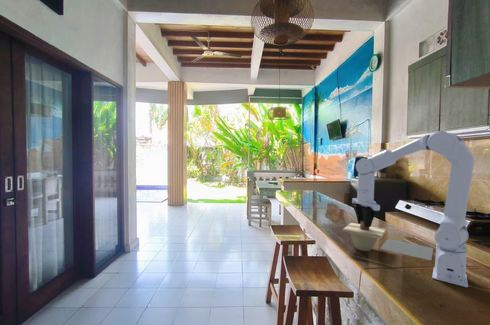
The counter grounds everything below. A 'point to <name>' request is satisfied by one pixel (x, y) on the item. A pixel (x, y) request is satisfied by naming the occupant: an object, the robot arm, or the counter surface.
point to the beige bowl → (363, 242)
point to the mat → (408, 249)
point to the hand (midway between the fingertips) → (364, 225)
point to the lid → (365, 230)
